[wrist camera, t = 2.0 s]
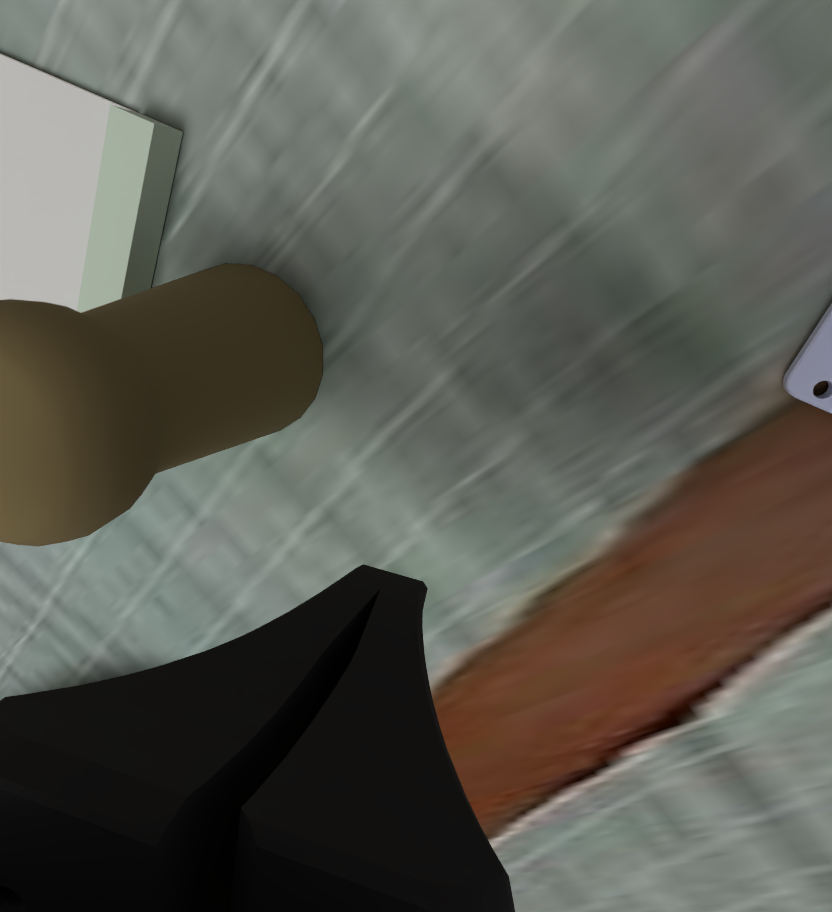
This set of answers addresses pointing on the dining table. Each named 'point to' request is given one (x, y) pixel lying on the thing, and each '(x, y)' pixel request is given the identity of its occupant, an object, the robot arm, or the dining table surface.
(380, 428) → the dining table surface
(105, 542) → the dining table surface
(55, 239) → the mat
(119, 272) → the kerb
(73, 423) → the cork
